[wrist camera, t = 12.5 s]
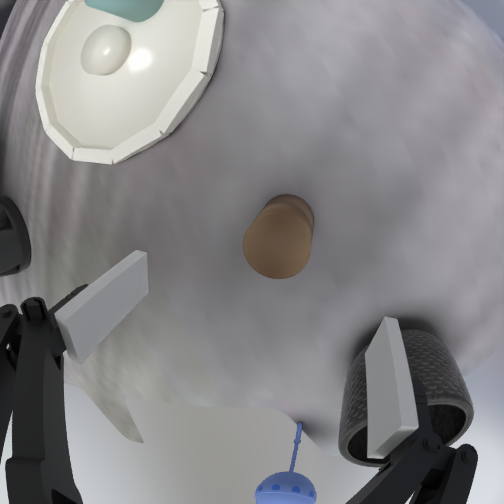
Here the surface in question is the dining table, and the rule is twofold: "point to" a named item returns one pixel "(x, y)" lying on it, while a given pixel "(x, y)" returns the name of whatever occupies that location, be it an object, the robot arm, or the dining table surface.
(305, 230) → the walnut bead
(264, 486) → the baby rattle
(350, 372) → the planter
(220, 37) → the round cream tray
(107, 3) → the teal cylinder
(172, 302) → the dining table surface
